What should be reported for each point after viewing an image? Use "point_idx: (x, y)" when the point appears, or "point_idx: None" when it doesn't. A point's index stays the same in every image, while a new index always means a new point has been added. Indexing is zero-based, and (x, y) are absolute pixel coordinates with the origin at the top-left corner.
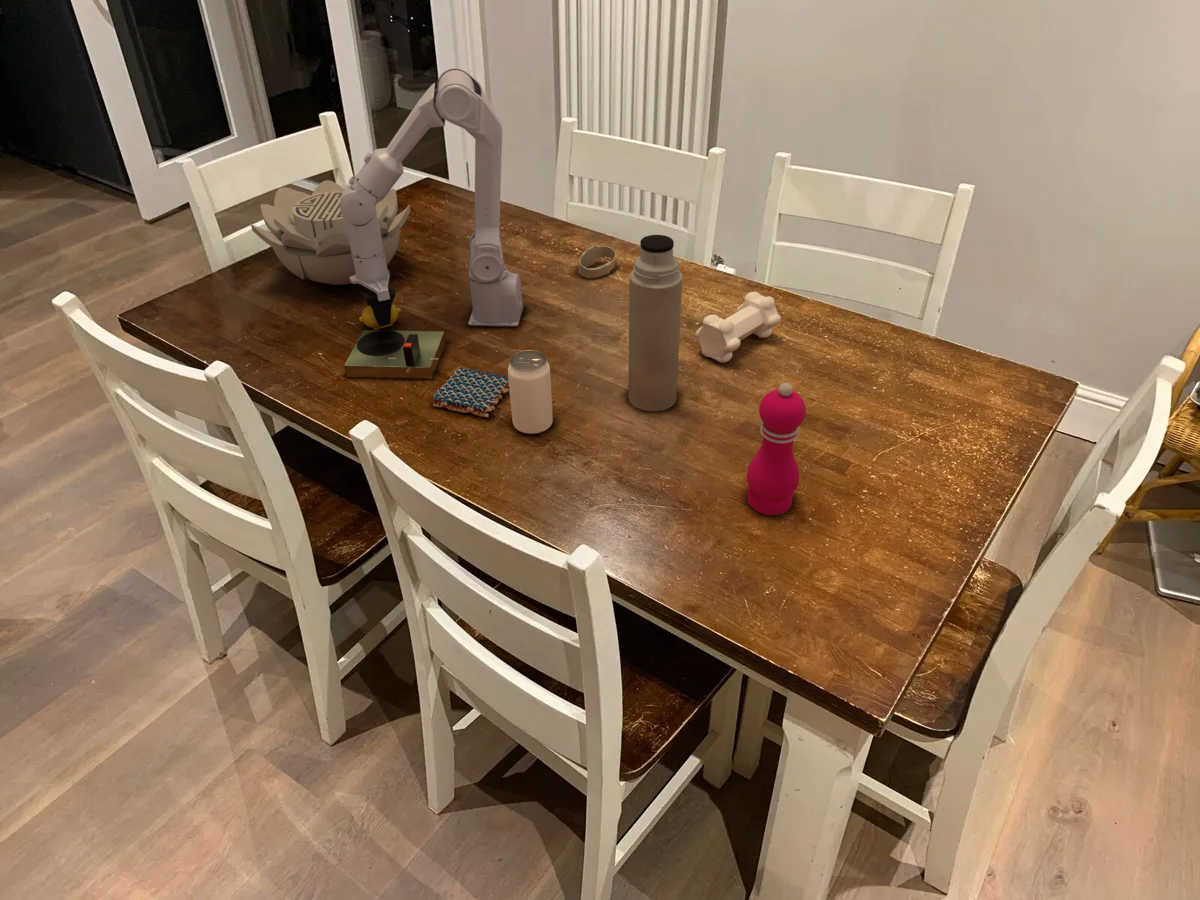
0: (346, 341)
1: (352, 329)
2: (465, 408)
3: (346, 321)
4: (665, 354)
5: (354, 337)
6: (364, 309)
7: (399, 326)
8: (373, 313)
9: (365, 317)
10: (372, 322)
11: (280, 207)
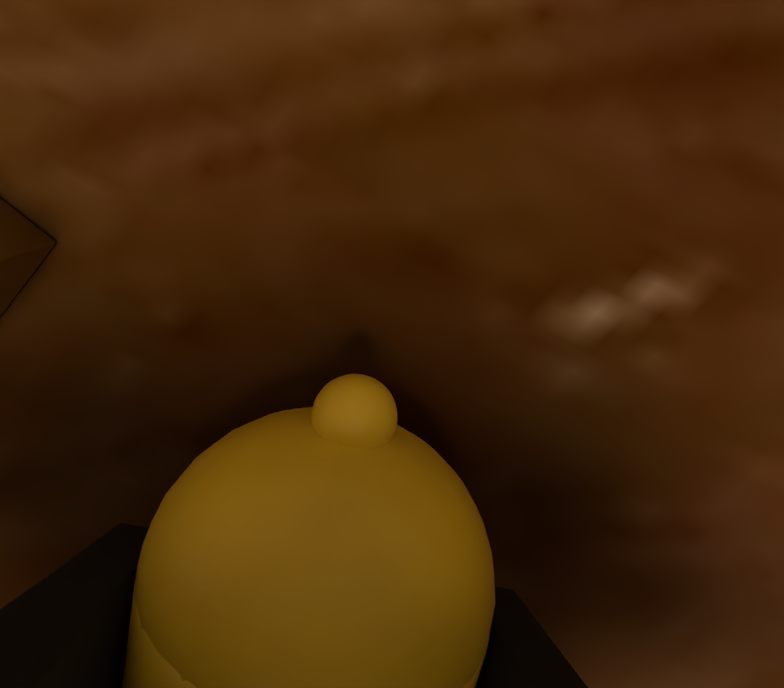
0: (207, 25)
1: (460, 244)
2: None
3: (704, 275)
4: None
5: (246, 169)
6: (364, 574)
7: None
8: (163, 625)
9: (238, 473)
10: (166, 493)
11: None
